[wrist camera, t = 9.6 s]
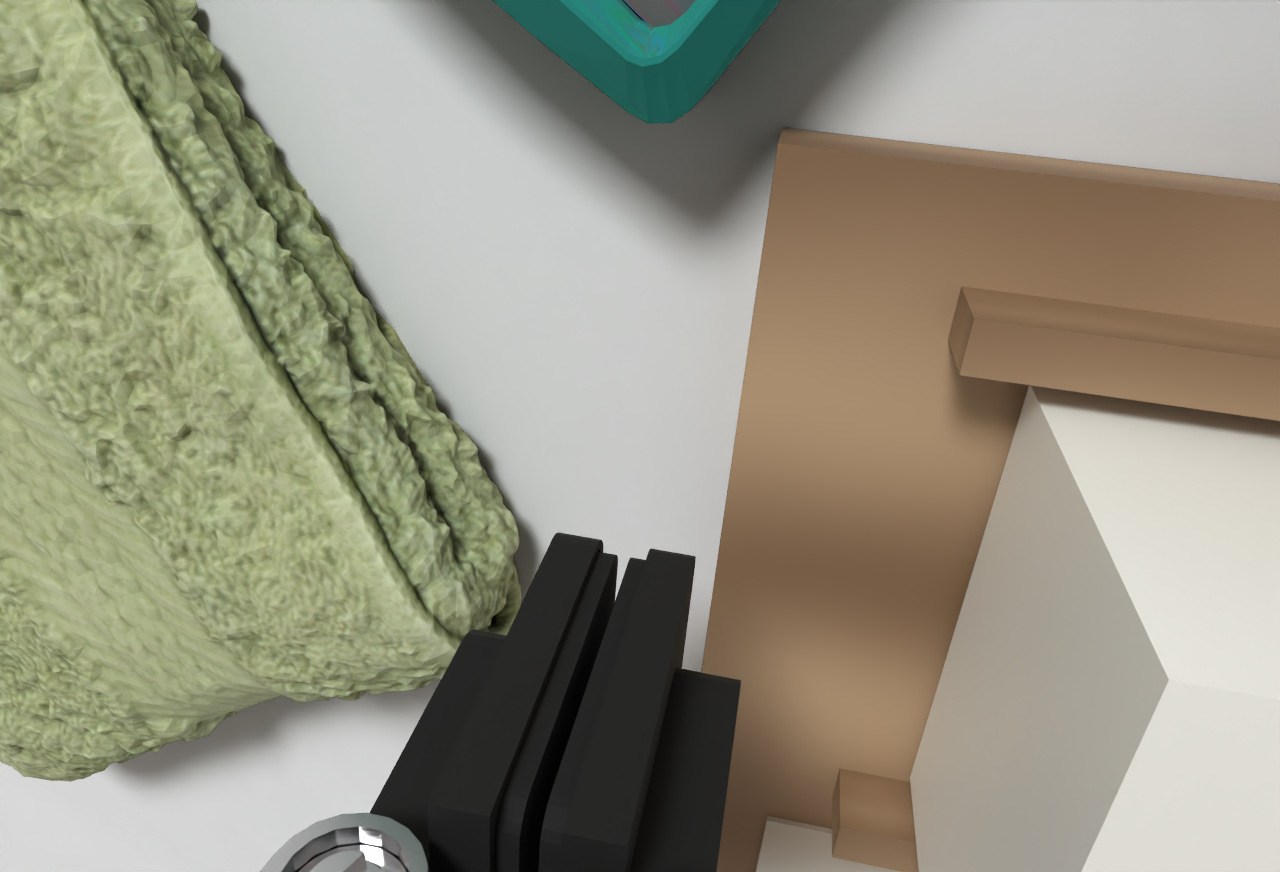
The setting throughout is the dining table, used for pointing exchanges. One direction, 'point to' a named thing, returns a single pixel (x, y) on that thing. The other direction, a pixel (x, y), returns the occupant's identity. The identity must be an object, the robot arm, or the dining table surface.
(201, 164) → the washcloth
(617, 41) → the digital multimeter
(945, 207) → the wooden rail slider
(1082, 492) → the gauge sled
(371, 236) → the dining table surface
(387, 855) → the robot arm
